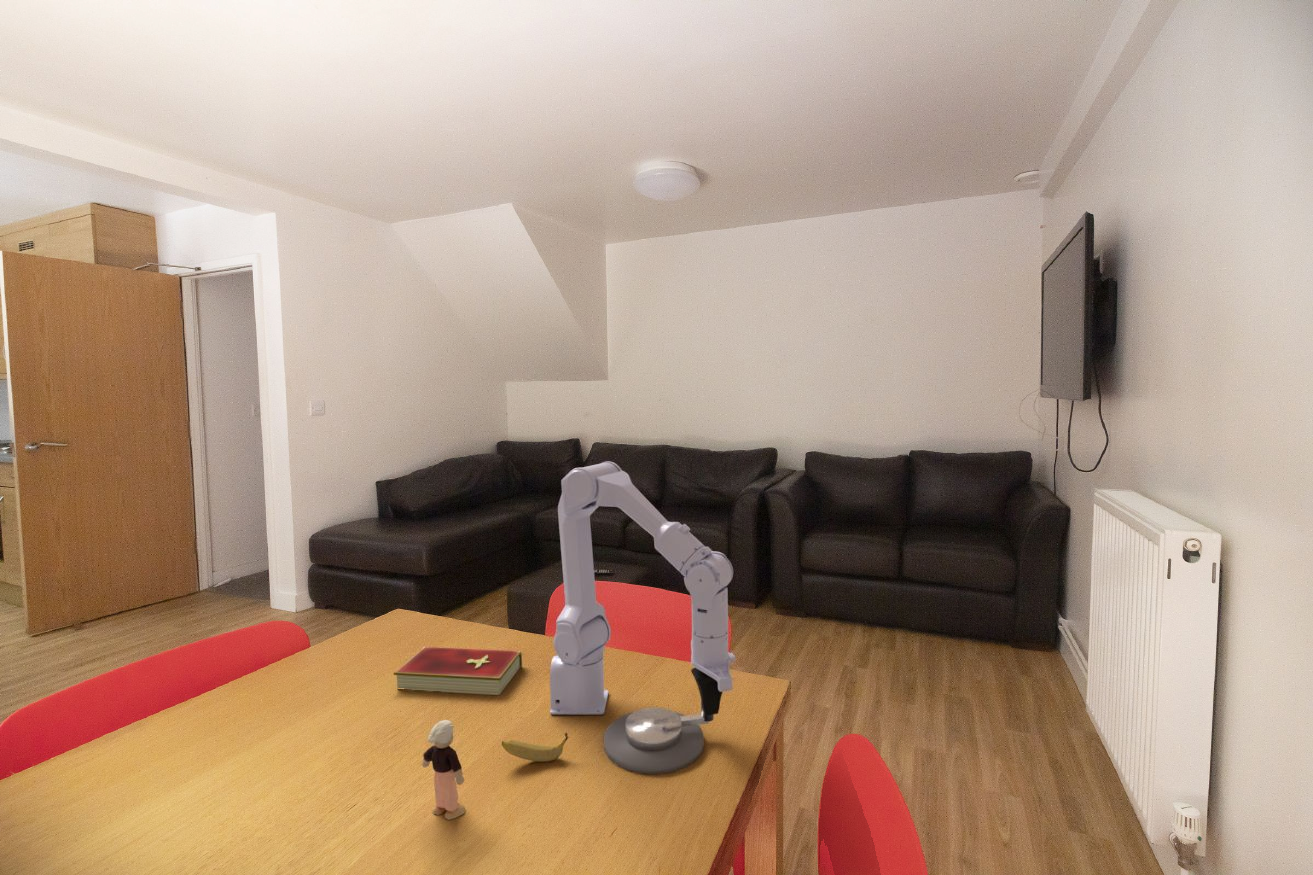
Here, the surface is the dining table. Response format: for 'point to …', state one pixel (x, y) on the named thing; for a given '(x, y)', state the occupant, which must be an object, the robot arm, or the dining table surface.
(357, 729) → the dining table surface
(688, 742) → the dial base
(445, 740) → the grandmother figurine
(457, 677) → the hardcover book
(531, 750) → the banana
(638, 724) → the dial
